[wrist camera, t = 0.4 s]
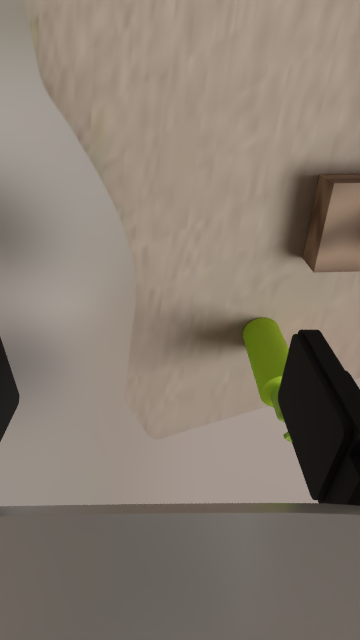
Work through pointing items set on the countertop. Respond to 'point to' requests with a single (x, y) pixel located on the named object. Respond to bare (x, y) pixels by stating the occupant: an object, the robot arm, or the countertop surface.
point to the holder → (335, 225)
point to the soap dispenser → (267, 360)
